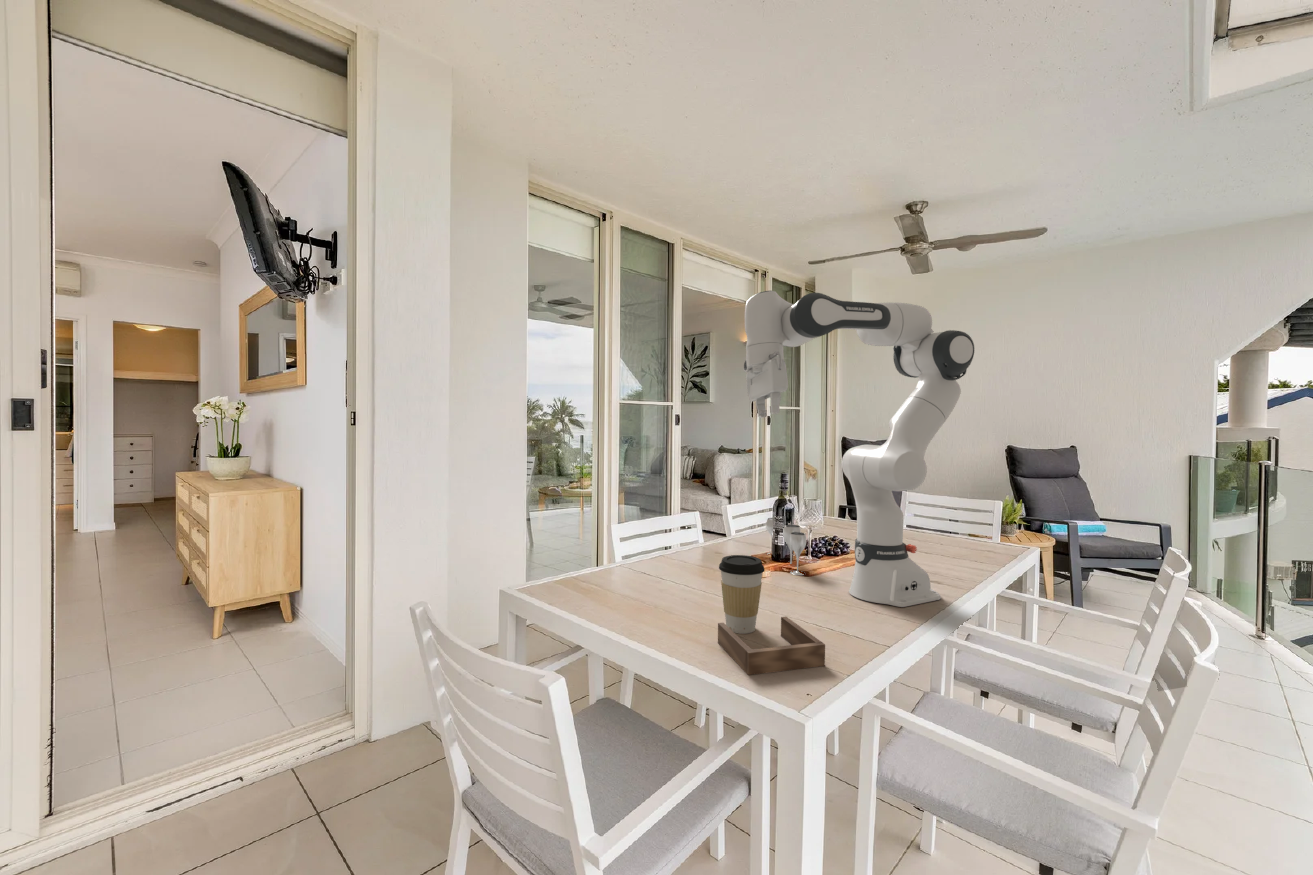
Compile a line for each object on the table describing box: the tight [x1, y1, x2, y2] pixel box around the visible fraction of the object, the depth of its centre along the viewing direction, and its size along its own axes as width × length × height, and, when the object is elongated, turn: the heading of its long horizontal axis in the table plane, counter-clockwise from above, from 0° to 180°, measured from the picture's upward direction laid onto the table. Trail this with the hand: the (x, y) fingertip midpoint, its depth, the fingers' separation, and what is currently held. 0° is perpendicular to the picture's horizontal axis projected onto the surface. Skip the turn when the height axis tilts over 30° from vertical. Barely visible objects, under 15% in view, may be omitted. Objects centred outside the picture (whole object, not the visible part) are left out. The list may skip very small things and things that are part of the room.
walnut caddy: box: [717, 616, 826, 676], centre depth 107 cm, size 15×15×4 cm
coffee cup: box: [718, 554, 765, 635], centre depth 120 cm, size 10×10×15 cm
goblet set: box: [765, 517, 807, 576], centre depth 174 cm, size 28×6×13 cm, turn 5°
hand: (768, 415), depth 133 cm, fingers open, 8 cm apart
